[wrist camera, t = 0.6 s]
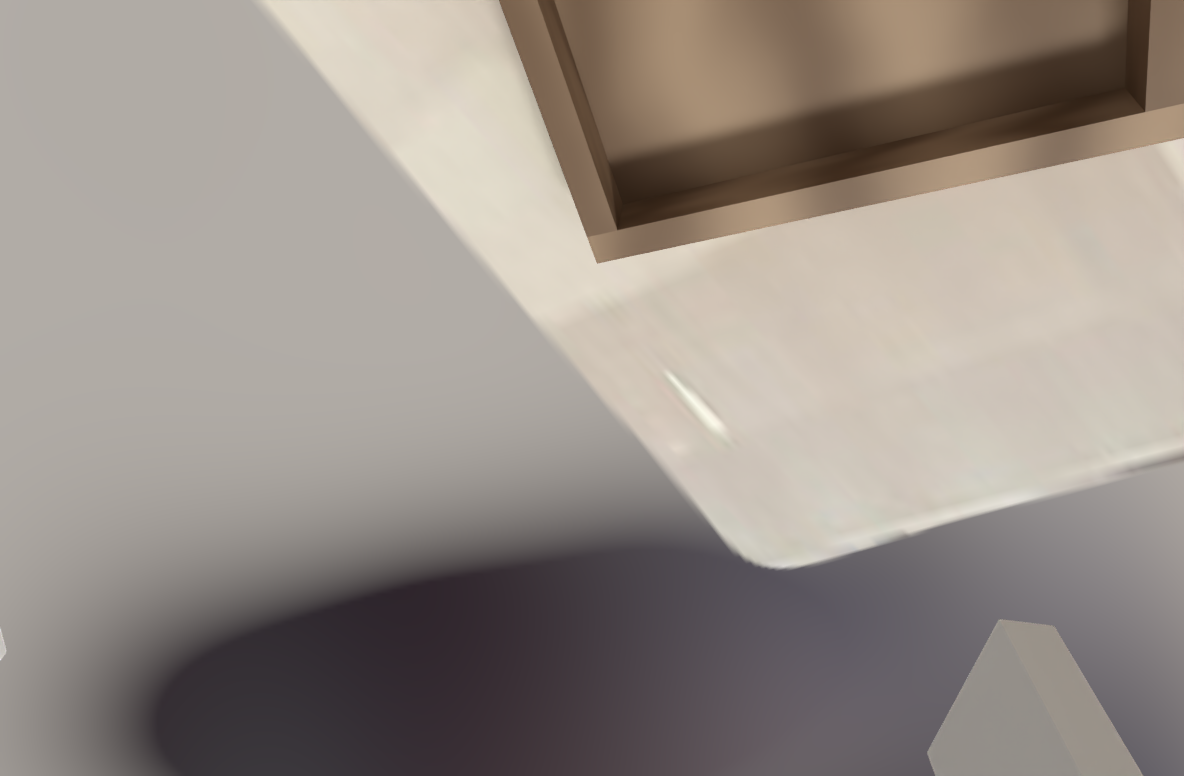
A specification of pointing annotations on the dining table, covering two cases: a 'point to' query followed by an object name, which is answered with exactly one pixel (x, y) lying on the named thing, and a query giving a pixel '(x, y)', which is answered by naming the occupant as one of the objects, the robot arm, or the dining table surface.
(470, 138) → the dining table surface
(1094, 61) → the tray
